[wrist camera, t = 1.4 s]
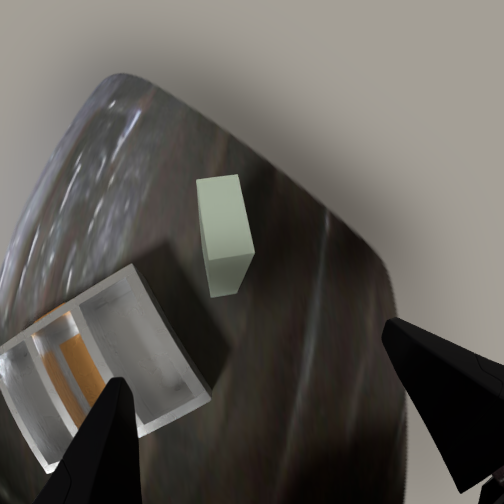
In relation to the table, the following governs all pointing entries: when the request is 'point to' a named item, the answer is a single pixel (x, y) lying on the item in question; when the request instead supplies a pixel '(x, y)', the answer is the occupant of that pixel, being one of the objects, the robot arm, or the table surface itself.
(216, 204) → the pale green rectangular block
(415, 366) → the robot arm
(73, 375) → the rack
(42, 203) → the table surface
